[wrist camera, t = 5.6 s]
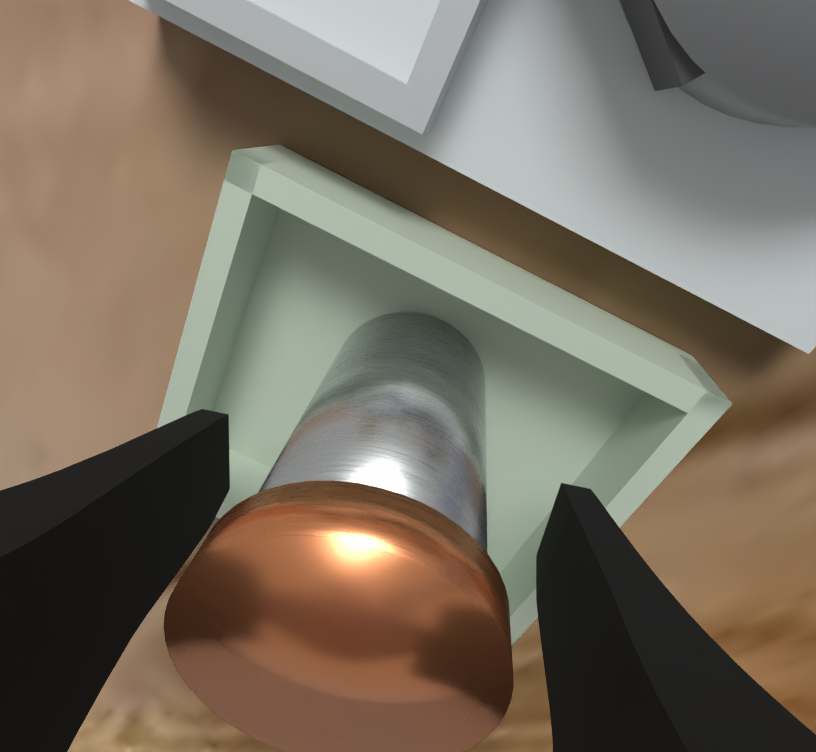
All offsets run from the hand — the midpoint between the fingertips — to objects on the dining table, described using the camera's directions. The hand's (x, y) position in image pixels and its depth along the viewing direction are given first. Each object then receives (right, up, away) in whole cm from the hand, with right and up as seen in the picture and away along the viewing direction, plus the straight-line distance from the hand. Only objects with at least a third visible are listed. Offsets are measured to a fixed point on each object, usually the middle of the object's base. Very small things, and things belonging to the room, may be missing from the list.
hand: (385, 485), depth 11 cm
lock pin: (0, +2, +3) cm, 3 cm away
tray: (+1, +2, +3) cm, 4 cm away
